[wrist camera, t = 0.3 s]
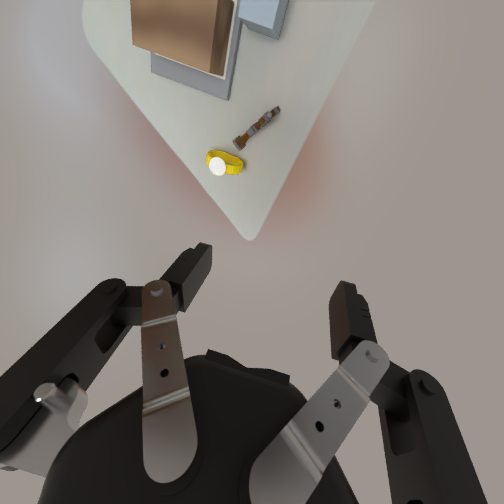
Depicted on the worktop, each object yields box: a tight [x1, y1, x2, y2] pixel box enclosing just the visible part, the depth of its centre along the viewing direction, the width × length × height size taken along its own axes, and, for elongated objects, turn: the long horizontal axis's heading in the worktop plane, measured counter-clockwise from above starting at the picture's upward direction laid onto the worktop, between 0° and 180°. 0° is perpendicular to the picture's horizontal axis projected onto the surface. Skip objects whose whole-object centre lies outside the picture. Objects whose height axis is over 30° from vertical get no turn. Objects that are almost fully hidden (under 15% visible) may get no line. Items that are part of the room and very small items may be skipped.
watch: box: [206, 150, 244, 176], centre depth 34 cm, size 6×3×6 cm, turn 72°
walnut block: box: [130, 0, 234, 76], centre depth 25 cm, size 7×10×5 cm
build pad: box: [151, 0, 242, 100], centre depth 28 cm, size 12×12×1 cm
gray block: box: [238, 0, 288, 39], centre depth 24 cm, size 4×4×5 cm
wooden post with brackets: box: [232, 107, 280, 151], centre depth 32 cm, size 2×8×4 cm, turn 128°
